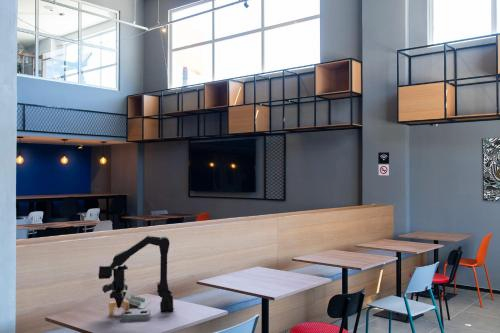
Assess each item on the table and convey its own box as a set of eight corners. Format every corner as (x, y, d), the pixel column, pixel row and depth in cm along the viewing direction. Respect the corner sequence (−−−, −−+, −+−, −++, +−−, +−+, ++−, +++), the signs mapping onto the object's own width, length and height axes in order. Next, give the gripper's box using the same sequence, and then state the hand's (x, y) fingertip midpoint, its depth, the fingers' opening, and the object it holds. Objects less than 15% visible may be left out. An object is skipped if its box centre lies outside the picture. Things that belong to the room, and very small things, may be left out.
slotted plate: (150, 315, 251) (150, 309, 251) (148, 320, 243) (148, 314, 243) (123, 316, 249) (123, 310, 249) (120, 321, 241) (120, 315, 241)
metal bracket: (121, 298, 264) (130, 291, 279) (118, 308, 264) (128, 301, 279) (145, 306, 263) (153, 298, 278) (143, 316, 263) (151, 308, 278)
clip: (129, 312, 256) (129, 300, 256) (128, 314, 253) (128, 302, 253) (110, 313, 255) (110, 301, 255) (109, 315, 252) (109, 302, 253)
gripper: (107, 274, 263) (107, 303, 263) (99, 282, 244) (99, 313, 244) (127, 274, 264) (128, 302, 264) (121, 281, 245) (122, 312, 245)
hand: (119, 307), depth 254 cm, fingers closed on clip, 2 cm apart
